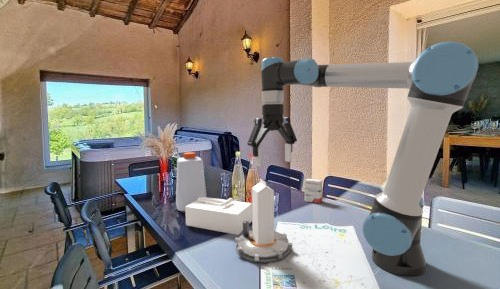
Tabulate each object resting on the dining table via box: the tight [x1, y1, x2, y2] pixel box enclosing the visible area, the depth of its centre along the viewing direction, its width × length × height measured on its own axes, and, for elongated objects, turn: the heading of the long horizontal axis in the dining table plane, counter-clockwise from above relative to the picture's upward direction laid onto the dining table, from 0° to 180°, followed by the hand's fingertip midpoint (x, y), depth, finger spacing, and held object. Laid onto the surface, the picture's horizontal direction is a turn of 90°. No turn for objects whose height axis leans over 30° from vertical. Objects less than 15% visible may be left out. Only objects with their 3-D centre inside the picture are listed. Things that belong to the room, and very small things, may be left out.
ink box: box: [304, 178, 323, 204], centre depth 147 cm, size 9×5×12 cm, turn 58°
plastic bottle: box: [175, 151, 207, 213], centre depth 140 cm, size 15×15×28 cm
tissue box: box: [184, 196, 252, 236], centre depth 120 cm, size 14×25×11 cm, turn 67°
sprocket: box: [234, 221, 293, 261], centre depth 97 cm, size 20×20×7 cm
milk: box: [251, 178, 275, 246], centre depth 96 cm, size 6×6×22 cm
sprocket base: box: [235, 243, 291, 264], centre depth 98 cm, size 19×19×1 cm
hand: (273, 163), depth 98 cm, fingers open, 13 cm apart
